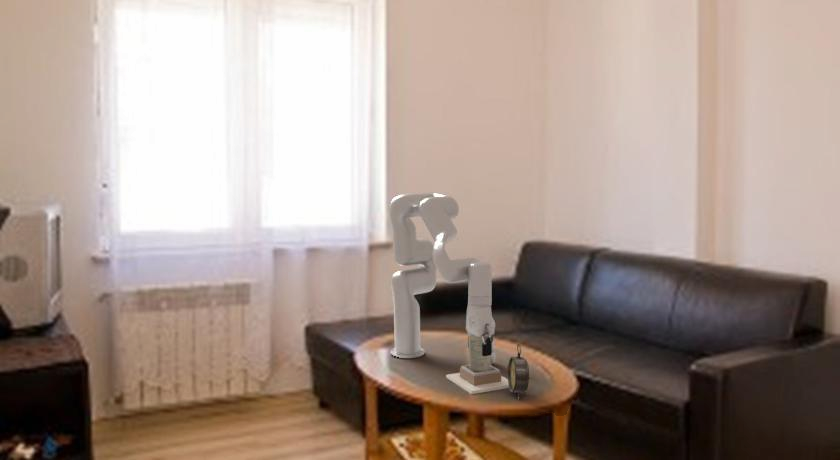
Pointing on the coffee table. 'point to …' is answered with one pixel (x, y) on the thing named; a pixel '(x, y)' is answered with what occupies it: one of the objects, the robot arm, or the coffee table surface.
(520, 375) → the alarm clock
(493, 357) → the plastic bottle
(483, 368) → the skincare box
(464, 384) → the display base
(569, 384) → the coffee table surface
